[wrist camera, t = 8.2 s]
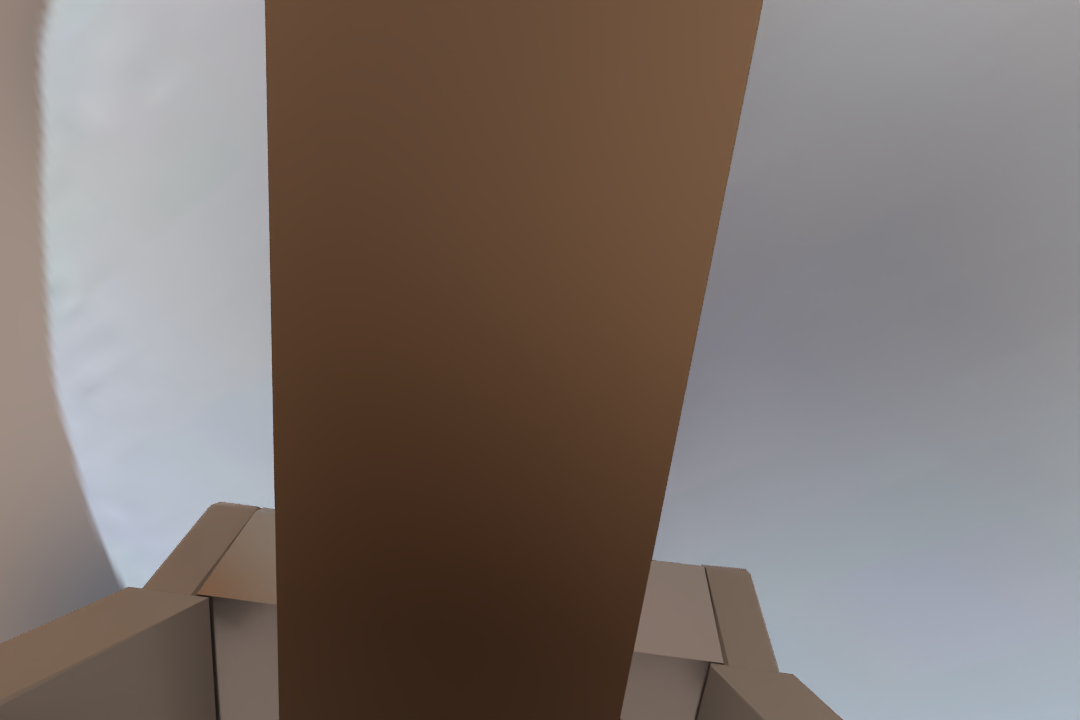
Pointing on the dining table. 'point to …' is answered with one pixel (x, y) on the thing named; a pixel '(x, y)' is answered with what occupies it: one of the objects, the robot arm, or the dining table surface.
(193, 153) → the dining table surface
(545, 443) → the walnut pusher
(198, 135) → the dining table surface
